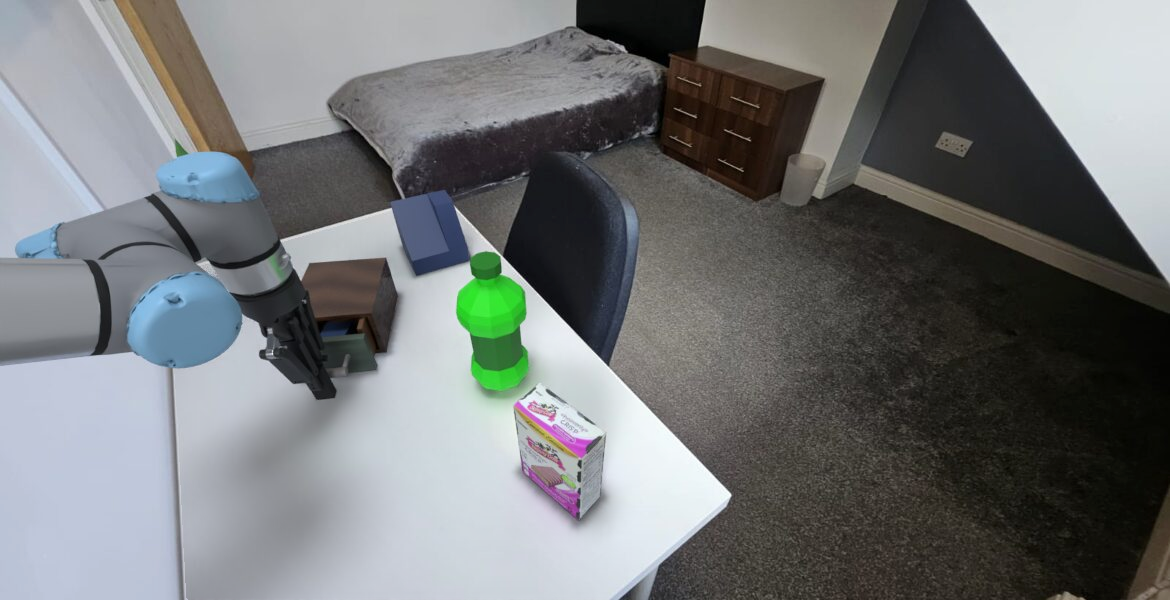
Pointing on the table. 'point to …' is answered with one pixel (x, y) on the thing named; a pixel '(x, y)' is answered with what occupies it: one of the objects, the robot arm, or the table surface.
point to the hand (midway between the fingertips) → (326, 395)
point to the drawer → (350, 349)
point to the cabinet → (354, 293)
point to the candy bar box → (560, 449)
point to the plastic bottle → (494, 323)
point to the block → (337, 329)
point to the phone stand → (430, 232)
